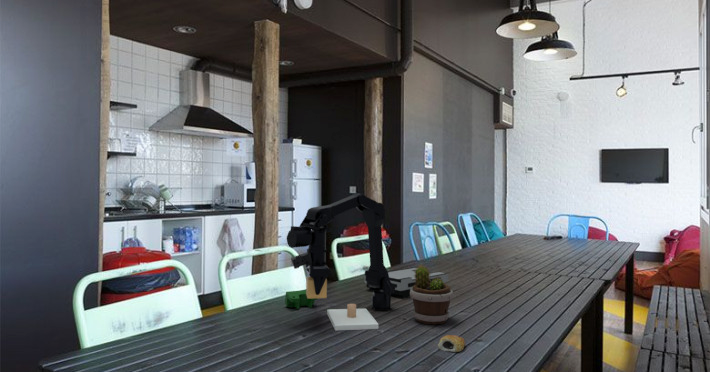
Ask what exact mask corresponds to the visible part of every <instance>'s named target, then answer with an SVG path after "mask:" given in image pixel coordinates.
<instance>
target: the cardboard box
mask: <svg viewBox="0 0 710 372" xmlns="http://www.w3.org/2000/svg"><path fill="white" fill-rule="evenodd" d="M305 279H306V280H305V281H306V282H305V285H306V286H305V287H306V288H305V290H306V295H307V298H308V299H311V298H318V299H328V297H327V294H328V291H327V290H328V279H327V278H326V280H325V282H324V285H323V287H322V289H321V291H320V294H319V295H316V293H315V287H314V281H313V279H312V278H311V277H310V276H306V278H305Z"/></svg>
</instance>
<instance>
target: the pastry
mask: <svg viewBox="0 0 710 372" xmlns="http://www.w3.org/2000/svg"><path fill="white" fill-rule="evenodd" d="M465 345H466V341H465V339H464V338H463V337H461V336H459V335H456V334H455V335H454V334H447V335H444V336H442V337H441V338H440V339H439V343H437V348H438V349H439V350H440V351H444V352H451V353H460V352H462V351H463V350H464V349H465Z"/></svg>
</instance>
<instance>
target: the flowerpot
mask: <svg viewBox="0 0 710 372" xmlns="http://www.w3.org/2000/svg"><path fill="white" fill-rule="evenodd" d="M416 268H418V269H417V270H415V271H416V272H415V271H414V273H416V274H415V278H414V277H413V278H414V279H415V281H416V284H415V285H414V286H413V288H412V289H411V290H410V297H409V298H412V304H413V307H414V309H413V311H412V313H413V315H414V318H415V319H416V321H417V322H418V323H421V324H425V325H442V324H445V323H446V322H447V320H448V319H449V315H450V312H449V311H448V310H449V307H450V303H451V301H452V300H453V298H454V292H453V290H452V289H451V287H450V286H449V285H448V284H446V283H445V282H443V281H442V280H441V279H440V278H439V279H438V277H437V279H436V278H435V277H434V278H435V279H434V280H432V281H431V283H429V282H428V281H429V280H430V278H429V277H430V276H429V275H431V274H430V273H431V270H430V269H429V268H427V266H426V263H425V264H422V262H420V264H419V265H417V266H416ZM429 272H430V273H429Z"/></svg>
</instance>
